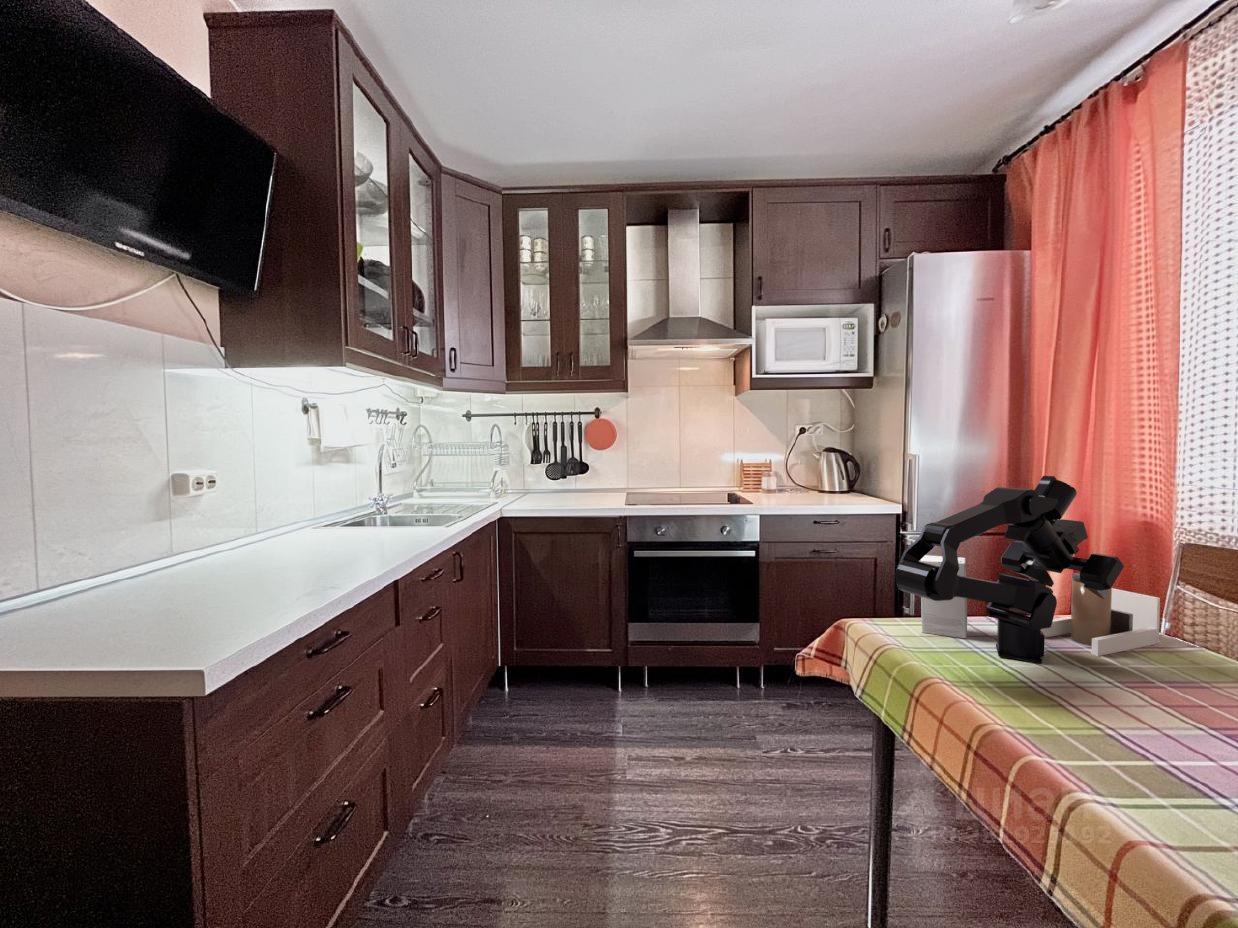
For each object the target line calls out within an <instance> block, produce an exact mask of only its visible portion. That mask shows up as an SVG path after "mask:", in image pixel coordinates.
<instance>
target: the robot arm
mask: <svg viewBox="0 0 1238 928" xmlns="http://www.w3.org/2000/svg"><path fill="white" fill-rule="evenodd" d="M1077 495H1078V492H1077V489H1076V488H1075V487H1073V486H1071V485H1070V484H1068V483H1067V482H1064V481H1063V480H1059V479H1057V478H1056V476H1054V475H1043V476H1042V477H1041V478H1040V479H1039V481H1038V484H1037V485H1036V487H1035V488H1034V489H1031V488H1029V489H1028V488H1017V487H1005V486H1003V487H1002V486H1001V487H1000V486H999V487H996V488H993V489H992V490H991V491H990V492H988V493H987V494H985V495H984V496H983V499H982V501H981V502H980V503H978V504H976V505H974V506H971V507H968V508H966V509H965V510H961V511H959V512H957V513H955V514H952V515H949V516H948V517H947V516H946V517H945V518H943V519H941V520H939V521H936V522H930V523H927V524H925V525H924V527H923V528H922V530H921V533H920V534H919V536H918V538H917V539H915V541H913V543H910V545H909V546H908V547H907V548H906V549H904V551H903V553H902V555H901V558H900V559H899V562H898V564H897V565H896V566H897V567H896V568H895V572H894V579H895V583H896V585H897V589H898V590H900V591H902V592H905V593H908V594H912V595H915V596H917V597H920V598H921V597H924V598H927V599H931V600H934V601H946V600H952V599H953V598H954V597H961V598H967V600H974V601H980V602H986V603H988V604H987V605H986V607H985V609H986V612H987V616H988V617H989V618H991V619H993V618H994V619H996V620H997V629H996V630H997V637H996V638H997V639H996V641H997V642H996V644H995V648H996V651H997V656H998V657H1000V658H1005V659H1013V660H1018V661H1026V662H1030V663H1031V662H1032V663H1038V664H1039V663H1040V664H1042V663H1043V658H1044V657H1045V639H1046V638H1045V636H1044V634H1043V632H1042V631H1041V629H1045V628H1050V627H1051V625H1052V621H1053V619H1054V616H1055V613H1056V609H1057V606H1058V605H1057V604H1058V601H1057V598H1056V595H1055V594H1054V590H1053V589H1052V587H1053V586H1054V580H1053V579H1052V577H1051V575H1050V574H1049V572H1052V573H1056V574H1057V573H1058V574H1062V572H1063V571H1065V570H1066V569H1068V570H1071V571H1072V570H1073V571H1077V572H1079V573H1080V580H1081V582H1082V583H1083V584H1085V585H1084V587H1085V588H1087V589H1088V590H1090V591H1091V592H1093V593H1094V594H1096V595H1097V596H1099V597H1100V598H1102V599H1105V597H1106V596H1107V589H1111V587H1112V588H1113V586H1114V584H1115V582H1116V581H1117V579H1118V577H1119V576H1120V575H1121V573H1122V571H1123V569H1124V568H1125V566H1124V565H1125V564H1123V562H1122V561H1121V559H1120V558H1119V557H1118V556H1114V555H1108V554H1102V553H1091V554H1090V556H1089V557H1088V558H1084V557H1083V558H1082V557H1075V556H1073V555H1077V554H1078V552H1079V551H1080V548H1079V547H1078V546H1079V544H1082V542H1083V541H1085V540H1087V539H1088V538H1089V536H1088V532H1087V528H1086V525H1085V523H1084V521H1080V520H1071V519H1062V517H1064V515H1065V513H1066V512H1067V511H1068V509H1069V508H1070V506H1071V504H1072V503H1073V501H1074V499H1075V498H1076V496H1077ZM1002 525H1007V529H1006V531H1005V532H1004V539H1007V540H1012V541H1011V542H1010V543H1009V545H1008V546H1007V548H1006V550H1005V551H1004V552H1003V554H1002V555H1001V557H1000V562H1001V565H1002V567H1004V569H1005V570H1009V571H1012V572H1014V573H1016V574H1019V575H1021V576H1024V577H1020V576H1017V575H1012V574H1009V575H1008V574H1005V573H999V574H998V580H997V581H993V580H985V579H981V578H976V577H970V576H966V577H965V576H960V575H957V573H958V571H959V564H958V549H959V547H960V545H961V543H963V542H966V541H968V540H970V539H973V538H974V537H976V536H978V535H981V534H984V533H985V532H988V531H990V530H993V529H995V528H997V527H999V526H1002ZM935 547H940V548H941V550H940V551H941V556H942V558H943V561H942V563H941V565H940V566H936V565H931V564H927V563H923V562H920V561H921V559H922V558H923V557H924V556H925V555H928V553H930V551H932V550H933V549H934V548H935ZM1025 577H1026V578H1025ZM1011 610H1012V611H1011ZM1026 614H1027V615H1026ZM1029 615H1030V616H1029Z"/></svg>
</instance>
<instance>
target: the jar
mask: <svg viewBox="0 0 1238 928" xmlns="http://www.w3.org/2000/svg"><path fill="white" fill-rule="evenodd" d="M1084 585H1085V584H1083V583H1082V582H1081V580H1080V572H1073V573H1072V574H1071V605H1070V606H1071V609H1070V610H1071V612H1070V613H1071V614H1070V616H1071V633H1070V640H1072V641H1074V642H1076V643H1079V644H1082V645H1087V646H1091V647H1092V638H1096V637H1102V636H1107V635H1111V601H1112V588H1113V586H1112V587H1111V589H1107V596H1106V597H1105V599H1102V598H1100V597H1099V596H1097V595H1096V594H1094V593H1093V592H1091V591H1090V590H1088V589H1087V588H1085V587H1084Z"/></svg>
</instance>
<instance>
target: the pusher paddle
mask: <svg viewBox="0 0 1238 928" xmlns="http://www.w3.org/2000/svg"><path fill="white" fill-rule="evenodd" d="M1128 631H1133V614H1131V613H1126V612H1122V611H1118V610H1114V609H1111V635H1112V634H1118V633H1123V632H1128Z"/></svg>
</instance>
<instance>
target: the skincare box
mask: <svg viewBox="0 0 1238 928" xmlns="http://www.w3.org/2000/svg"><path fill="white" fill-rule="evenodd" d="M957 557H958V556H957ZM942 561H943V558H942V555H929V554H926V555H925V556H924V557H923V558H922V559H920V560H919V562H923V563H927V564H931V565H936V566H940V565H941V563H942ZM958 564H959V571H958V573H957V575H960V576H965V577H967V561H966V557H958ZM920 599H921V600H920V604H921V606H920V609H921V610H920V612H921V617H920V618H921V633H923V634H932V635H939V636H945V637H954V638H961V639H967V636H968V599H967V598H961V597H954V598H953V599H952V600H946V601H934V600H931V599H927V598H924V597H921V596H920Z"/></svg>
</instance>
